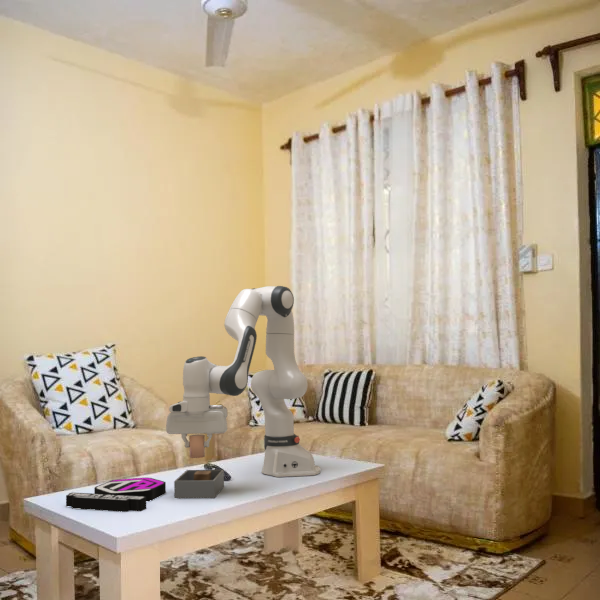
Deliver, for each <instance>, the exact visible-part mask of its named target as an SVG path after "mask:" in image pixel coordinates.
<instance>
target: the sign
mask: <svg viewBox="0 0 600 600" xmlns="http://www.w3.org/2000/svg"><path fill="white" fill-rule="evenodd" d="M166 487H167V486H166V481H164V480H160V479H156V478H152V477H136V478H135V477H133V478H119V479H113V480H109V481H107V482H103V483H102V484H99V485H97V486H95V487H94V489H93V490H94V493H90V492H69V493H68V494H66V496H65V501H66V502H65V506H72V507H71V508H72V509H73V508H81V509H80V510H87V509H95V510H94V511H103V510H108V512H119V511H120V512H121V511H122V513H128V512H142V511H145V510H146V509H147V502H146V501H148V502H150V500H151V501H153V499H154V500H155V498H156V499H157V497H158V498H159V496H160V497H162V496H163V495H166V491H167V490H166Z"/></svg>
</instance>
